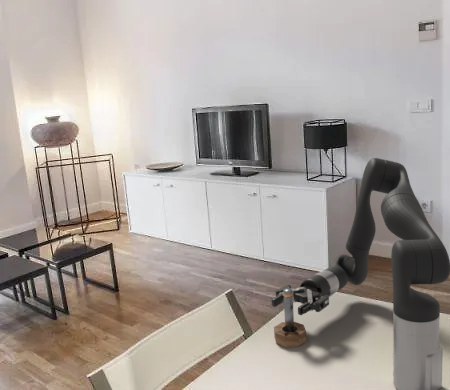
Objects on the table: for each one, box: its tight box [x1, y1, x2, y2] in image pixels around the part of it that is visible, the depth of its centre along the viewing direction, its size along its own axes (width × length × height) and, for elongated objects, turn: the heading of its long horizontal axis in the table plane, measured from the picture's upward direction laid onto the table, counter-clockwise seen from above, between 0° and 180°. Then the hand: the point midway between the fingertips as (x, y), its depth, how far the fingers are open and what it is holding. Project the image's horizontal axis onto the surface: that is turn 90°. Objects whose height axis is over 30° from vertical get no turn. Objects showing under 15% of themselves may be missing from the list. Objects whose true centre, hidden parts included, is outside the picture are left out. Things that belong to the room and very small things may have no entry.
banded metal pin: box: [283, 288, 295, 333], centre depth 130 cm, size 3×3×14 cm
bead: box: [273, 321, 307, 348], centre depth 131 cm, size 8×8×3 cm
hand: (285, 307), depth 128 cm, fingers open, 8 cm apart
